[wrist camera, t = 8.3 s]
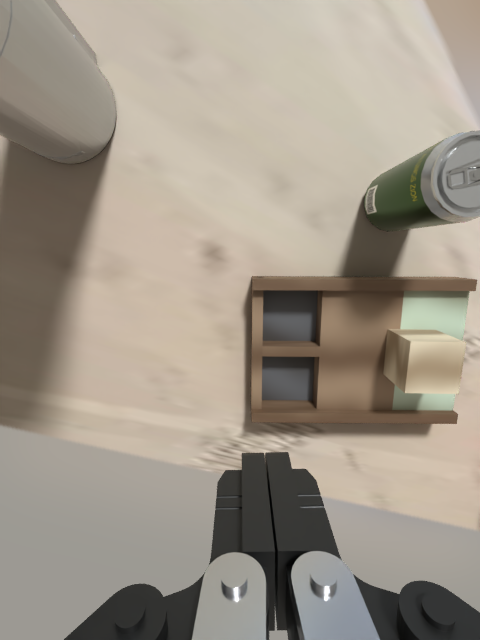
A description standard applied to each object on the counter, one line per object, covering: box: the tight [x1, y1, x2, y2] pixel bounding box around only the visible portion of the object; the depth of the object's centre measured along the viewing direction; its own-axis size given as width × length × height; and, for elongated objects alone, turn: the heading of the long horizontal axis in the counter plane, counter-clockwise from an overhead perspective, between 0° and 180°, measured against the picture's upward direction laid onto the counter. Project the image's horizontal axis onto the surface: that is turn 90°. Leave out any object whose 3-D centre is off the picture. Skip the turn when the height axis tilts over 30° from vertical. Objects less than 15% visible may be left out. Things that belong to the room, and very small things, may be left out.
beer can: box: [364, 131, 480, 231], centre depth 26 cm, size 5×5×12 cm
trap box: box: [251, 276, 477, 424], centre depth 33 cm, size 14×20×3 cm
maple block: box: [383, 329, 466, 394], centre depth 30 cm, size 4×4×4 cm
